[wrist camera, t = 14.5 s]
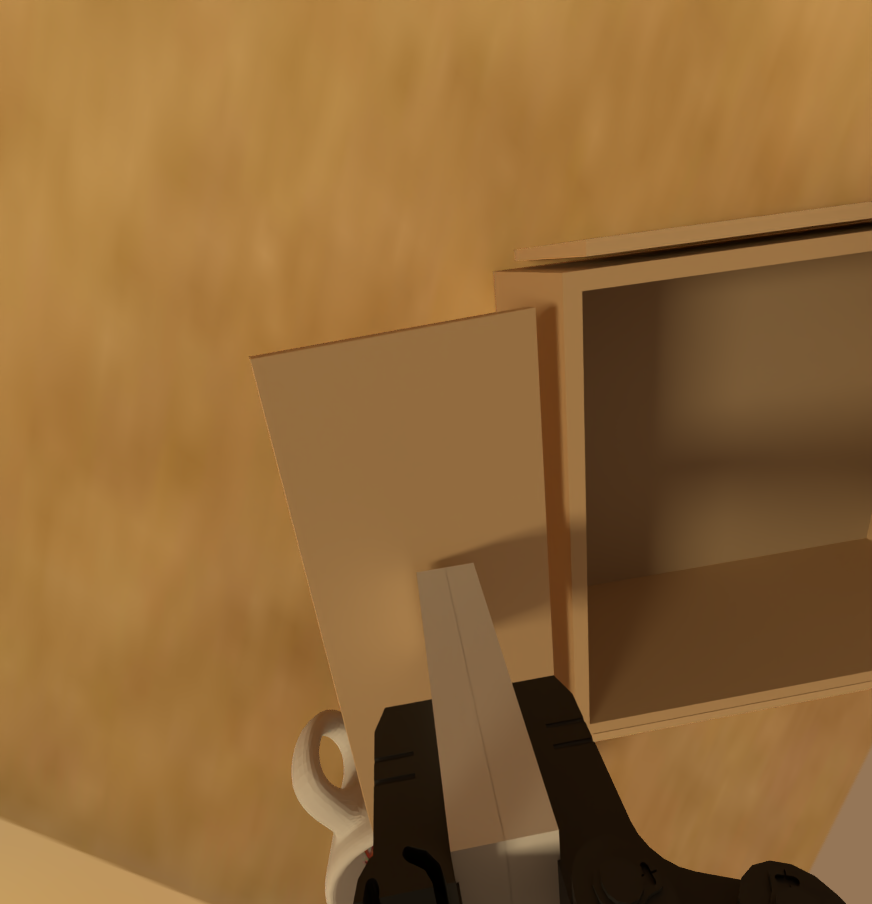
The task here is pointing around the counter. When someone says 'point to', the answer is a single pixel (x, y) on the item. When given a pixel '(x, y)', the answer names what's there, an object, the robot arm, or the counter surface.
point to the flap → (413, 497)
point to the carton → (706, 465)
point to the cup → (334, 805)
